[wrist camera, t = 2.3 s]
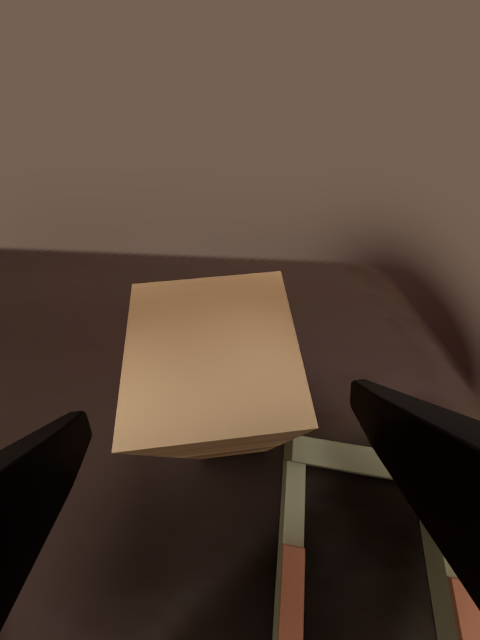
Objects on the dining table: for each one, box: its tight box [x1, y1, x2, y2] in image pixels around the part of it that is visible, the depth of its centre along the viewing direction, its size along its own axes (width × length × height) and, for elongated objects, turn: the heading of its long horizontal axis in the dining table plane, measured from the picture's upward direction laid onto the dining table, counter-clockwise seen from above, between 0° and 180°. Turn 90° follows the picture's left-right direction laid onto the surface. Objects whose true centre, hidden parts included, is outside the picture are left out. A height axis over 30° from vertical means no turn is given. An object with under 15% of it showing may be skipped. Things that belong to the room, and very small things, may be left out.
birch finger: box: [112, 271, 318, 459], centre depth 11 cm, size 4×4×12 cm
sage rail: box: [272, 436, 480, 640], centre depth 11 cm, size 13×8×3 cm, turn 171°
